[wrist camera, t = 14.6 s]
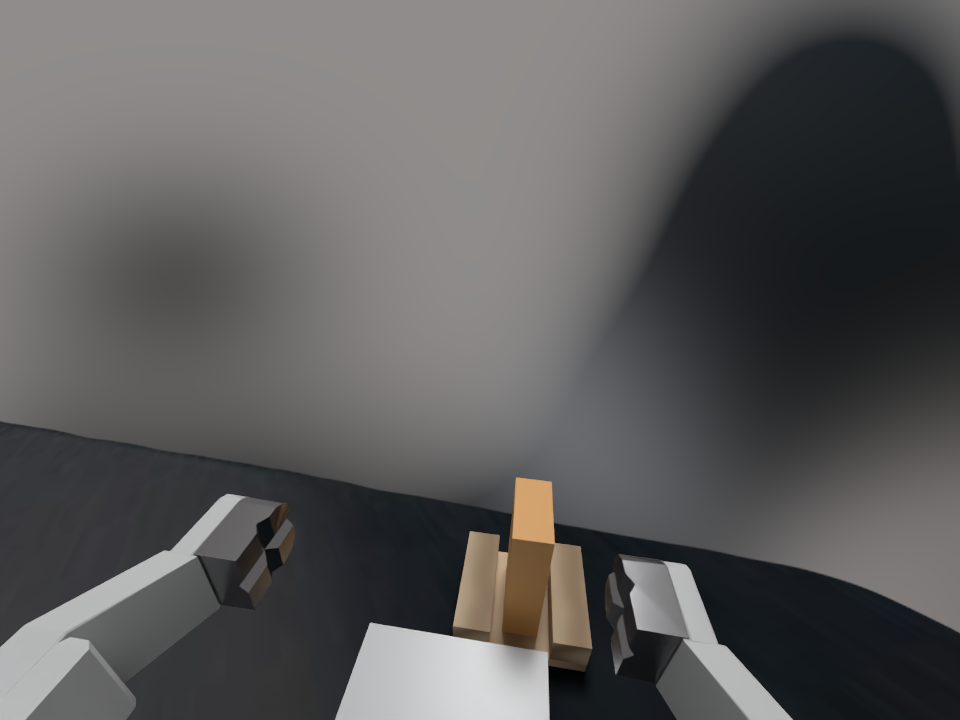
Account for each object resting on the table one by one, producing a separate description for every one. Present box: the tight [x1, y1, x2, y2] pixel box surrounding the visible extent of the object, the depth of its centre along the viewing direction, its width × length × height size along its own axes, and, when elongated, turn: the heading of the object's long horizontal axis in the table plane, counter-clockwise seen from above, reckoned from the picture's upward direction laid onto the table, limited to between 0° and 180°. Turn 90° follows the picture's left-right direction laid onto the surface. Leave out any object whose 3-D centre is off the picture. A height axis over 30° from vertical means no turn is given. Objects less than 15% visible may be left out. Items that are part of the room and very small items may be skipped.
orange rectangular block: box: [502, 478, 555, 637], centre depth 33 cm, size 3×6×12 cm, turn 173°
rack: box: [453, 531, 592, 672], centre depth 35 cm, size 11×9×4 cm
